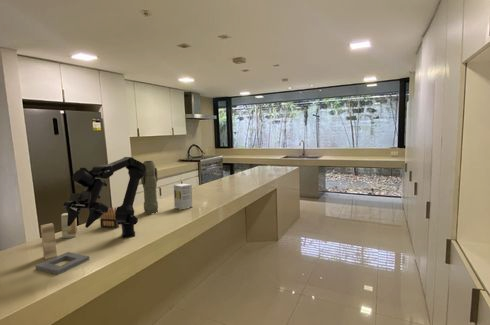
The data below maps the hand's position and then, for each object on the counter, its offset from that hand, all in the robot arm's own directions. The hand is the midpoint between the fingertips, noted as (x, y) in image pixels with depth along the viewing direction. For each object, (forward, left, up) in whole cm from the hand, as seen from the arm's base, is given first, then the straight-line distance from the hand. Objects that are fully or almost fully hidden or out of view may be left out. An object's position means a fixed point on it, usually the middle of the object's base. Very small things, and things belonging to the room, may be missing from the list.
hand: (77, 226), depth 111 cm
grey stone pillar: (-64, +32, -15) cm, 73 cm away
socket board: (+1, -6, -14) cm, 16 cm away
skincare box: (-35, -10, -15) cm, 39 cm away
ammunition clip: (-42, +8, -15) cm, 45 cm away
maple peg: (-10, -13, -14) cm, 22 cm away
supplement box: (-66, +54, -15) cm, 87 cm away
